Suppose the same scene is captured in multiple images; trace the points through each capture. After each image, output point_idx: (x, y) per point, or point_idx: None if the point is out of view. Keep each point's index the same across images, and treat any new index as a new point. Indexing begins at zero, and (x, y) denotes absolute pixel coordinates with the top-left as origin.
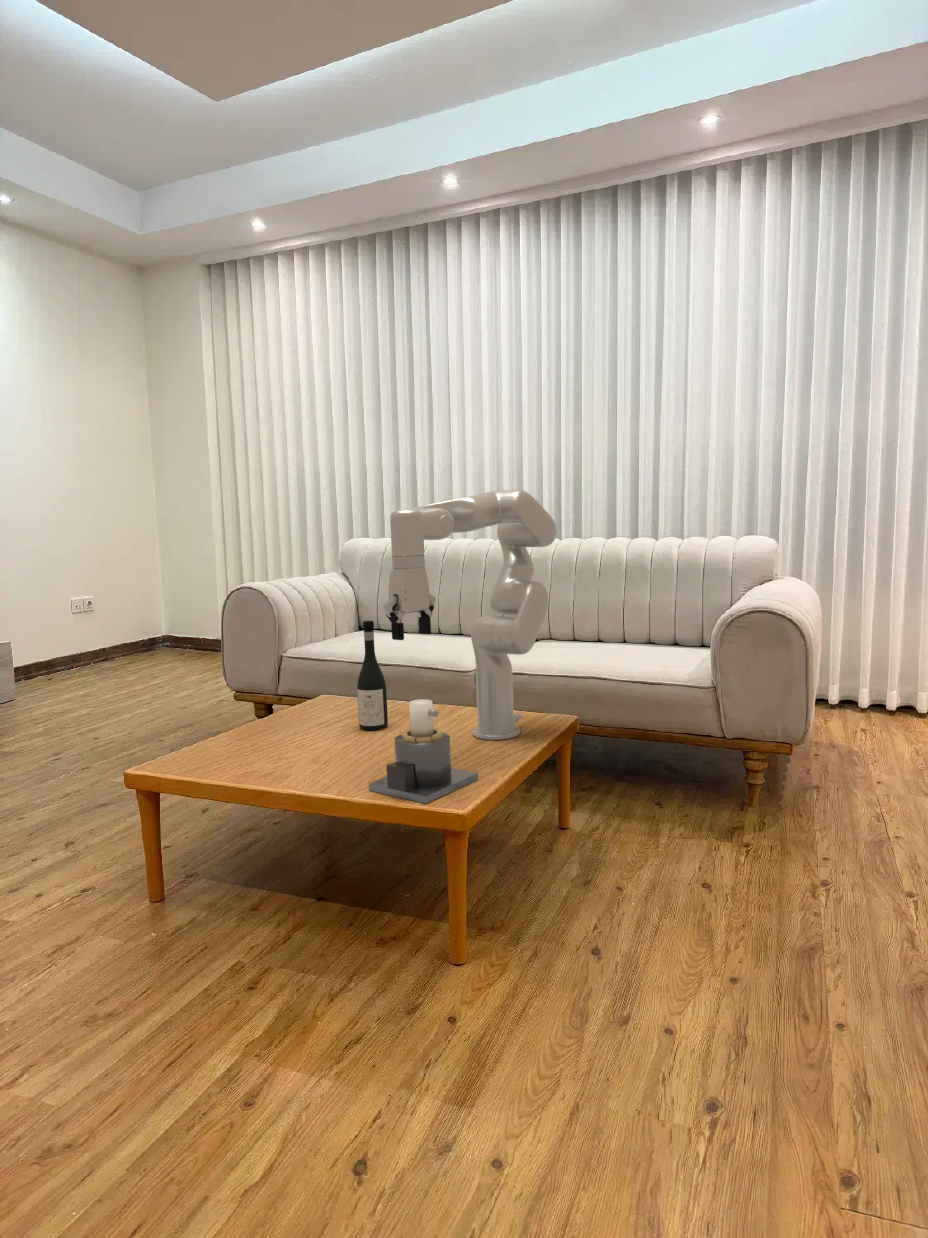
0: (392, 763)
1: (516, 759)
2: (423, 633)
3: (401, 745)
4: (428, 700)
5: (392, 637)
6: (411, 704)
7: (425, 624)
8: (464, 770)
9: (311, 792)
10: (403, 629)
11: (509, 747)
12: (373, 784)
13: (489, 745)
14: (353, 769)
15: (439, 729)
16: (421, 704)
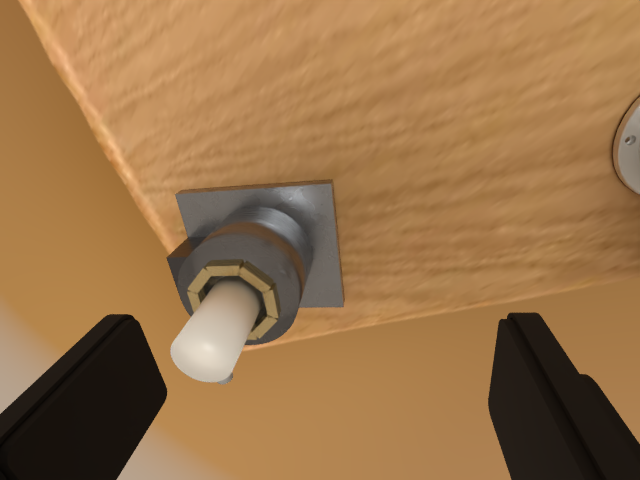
0: (179, 260)
1: (484, 291)
2: (495, 358)
3: (179, 290)
4: (226, 365)
5: (103, 325)
6: (171, 351)
7: (524, 477)
8: (340, 282)
9: (94, 105)
10: (112, 478)
11: (566, 235)
12: (179, 204)
13: (565, 187)
14: (229, 48)
15: (277, 318)
16: (186, 373)
